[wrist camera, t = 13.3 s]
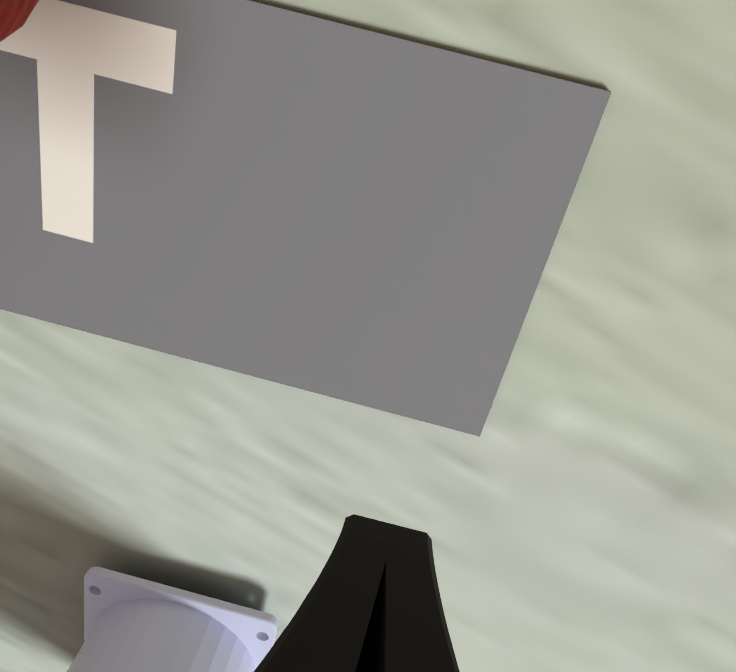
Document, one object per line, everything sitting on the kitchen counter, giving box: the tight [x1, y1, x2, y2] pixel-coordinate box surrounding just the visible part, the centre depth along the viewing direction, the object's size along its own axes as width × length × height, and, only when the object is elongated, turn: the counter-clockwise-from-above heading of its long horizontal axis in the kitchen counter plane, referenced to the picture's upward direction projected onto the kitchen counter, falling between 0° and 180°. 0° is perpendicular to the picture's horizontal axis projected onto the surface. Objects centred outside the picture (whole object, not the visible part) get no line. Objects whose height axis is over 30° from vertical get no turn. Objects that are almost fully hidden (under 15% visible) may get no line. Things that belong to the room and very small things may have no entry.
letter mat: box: [0, 0, 611, 436], centre depth 19 cm, size 11×18×1 cm, turn 78°
